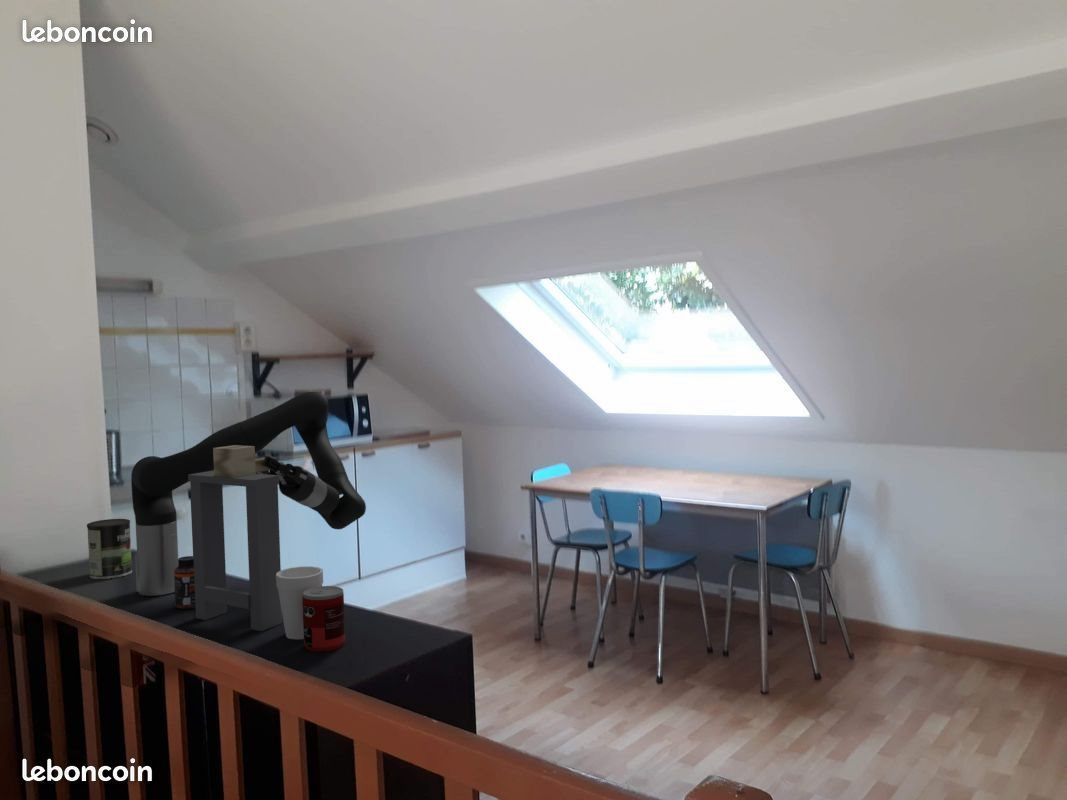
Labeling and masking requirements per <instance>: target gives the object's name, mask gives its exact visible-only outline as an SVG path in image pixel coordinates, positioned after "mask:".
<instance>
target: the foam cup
mask: <svg viewBox="0 0 1067 800" xmlns="http://www.w3.org/2000/svg"><path fill="white" fill-rule="evenodd" d="M323 584H324V569H323V568H321V567H319V566H308V565H307V566H305V565H304V566H303V565H302V566H295V567H294V566H293V567H288V568H283V569H281V571H279V572H277V573H276V587H278V592H279V598H280V604H281V610H282V622H283V625H284V626H283V627H284V634H285V636H286V638H287V639H289V640H304V629H303V603H302V595H303V592H304V591H305V590H307V589H310V588H314V587H320V586H323Z"/></svg>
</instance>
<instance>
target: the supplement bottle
mask: <svg viewBox="0 0 1067 800" xmlns="http://www.w3.org/2000/svg"><path fill="white" fill-rule="evenodd" d="M178 564H179V565H178V567H177V568H176V569H175V570H174V585H175V592H174V604H175V607H176V608H177V609H180V610H188V609H196V606H195V581H194V557H193V555H187V556H186V555H185V556H180V557H178Z"/></svg>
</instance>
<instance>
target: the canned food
mask: <svg viewBox="0 0 1067 800" xmlns="http://www.w3.org/2000/svg"><path fill="white" fill-rule="evenodd" d="M344 593H345V592H344V589H343V588H342V587H339V586H334V585H322V586H320V587H314V588H310V589H307V590H305V591H304V592H303V595H302V603H303V629H304V639H303V644H304V648H305V649H306V650H308V651H310V652H315V651H325V652H331V650H332V651H336V650H338V649H340V648H342V647H343V646H344V645H345V641H346V629H345V625H346V624H345V597H344V596H345V595H344Z"/></svg>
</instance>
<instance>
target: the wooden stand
mask: <svg viewBox="0 0 1067 800" xmlns="http://www.w3.org/2000/svg"><path fill="white" fill-rule="evenodd" d="M188 481H189V482H188V483H190V501H191V502H190V503H191V504H190V505H191V507H190V508H191V529H192V530H191V531H192V549H193V550H192V552H193V554H192V556H193V557H194V581H195V606H196V607H195V619H198V620H204V621H207V620H209V619H212V618H216V617H218V616H221V615H223V614H226V613H228V606H230V607H237V608H242V609H248V610H249V611H250V630H254V631H258V632H264V631H265V630H268V629H272V628H274V627H276V626H279V625H281V624H284V622H283V616H282V610H281V604H280V598H279V592H278V587H276V573H277V572H279V571H281V570H282V569H281V566H282V565H281V543H280V518H279V515H280V514H279V510H280V507H279V484H278V483H279V475H267V474H251V475H245V476H239V477H222V476H214V471H207V472H201V473H195V474H189V475H188ZM224 485H225V486H233V487H234V486H235V487H236V486H237V487H245V497H246V499H245V501H246V529H247V530H246V531H247V554H248V555H247V556H248V559H247V560H248V581H249V582H248V583H249V585H248V586H249V592H247V591H246V592H245V591H240V590H234V589H229V588H227V572H226V571H227V570H226V548H225V547H226V546H225V545H226V544H225V523H224V522H225V519H224V497H223V496H224V495H223V494H224V493H223V486H224Z"/></svg>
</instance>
